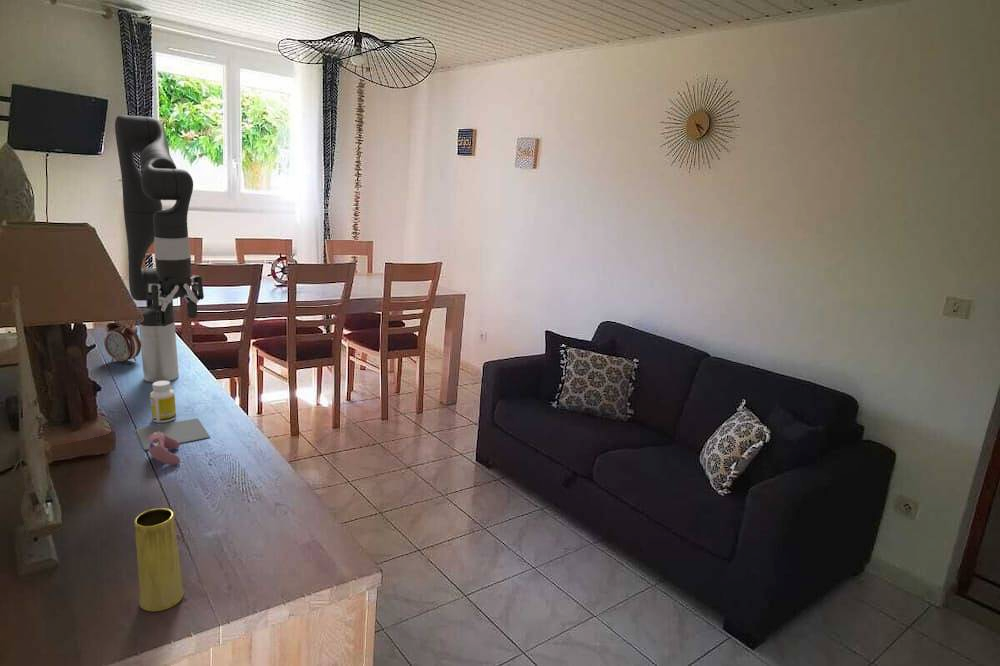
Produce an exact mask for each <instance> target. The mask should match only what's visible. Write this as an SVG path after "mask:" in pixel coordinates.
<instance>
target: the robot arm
mask: <svg viewBox="0 0 1000 666" xmlns="http://www.w3.org/2000/svg"><path fill="white" fill-rule="evenodd" d="M114 131H115V133H114V134H115V141H116V146H117V153H118V159H119V167H120V174H121V184H122V187H121V188H122V201H123V202H122V208H123V216H124V217H123V219H124V226H125V227H124V228H125V233H126V241H127V252H128V253H127V257H128V258H127V260H128V287H129V292H130V296H131V297H132V300H134V301H138V302H139V301H142V302H143V301H145V302H146V310H143V311H141V312H140V313H142V314H143V317H144V321H143V322H141V323H139V322H138V326H139V327H138V328H139V339H140V342H141V350H140V352H141V361H142V371H143V380H144V381H145V382H147V383H154V382H157V381H169V382H172V381H174V380H177V378H179V376H180V374H179V360H178V350H177V336H176V324H175V313H174V311H175V310H174V300H175V299H178V298H184V299H185V300H186V301H187V302H186V309H187V311H186V312H187V317H188V318H190V319H196V318H197V316H198V304H197V303H199V301H200V300H203V299H205V298H204V288H203V287H204V286H203V280H202V279H203V278H202V276H201V275H195V274H192V273H193V272H192V256H191V246H190V245H191V244H190V241H189V230H188V214H189V206H190V202H191V198H192V194H193V191H194V190H193V189H194V180H193V178H192V175H191V174H190V173H189V172H188V171H187V170H185V169H183V168H177V166H176V163H175V162H174V160H173V158H172V157H171V154H170V148H169V144H168V139H167V135H166V131H165V127H164V125H163V123H162V122H161V121H160V120H159V119H158V118H156V117H152V116H143V115H142V116H141V115H140V116H139V115H128V114H126V115H125V114H119V115H118V116H116V118H115V122H114ZM133 154H139V164H140V167H141V169H142V172H141V171H140V169H139V168H138V166H137V164H136V162H135V160H134V158H133V157H134V156H133ZM162 201H175V203H174V204H173V206H172V207H170V208H166V209H163V204H162ZM152 245H153V250H154V252H153V253H154V262H155V267H147V268H146V267H143V268H142V266H143V262H144V259H145V257H146V254H147V253H148V250H149V249H150V247H151V246H152ZM190 287H191V288H190Z"/></svg>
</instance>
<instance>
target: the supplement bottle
mask: <svg viewBox="0 0 1000 666" xmlns="http://www.w3.org/2000/svg"><path fill="white" fill-rule="evenodd" d="M149 395H150V396H149V398H150V407H151V419H152V421H153V422H155V423H160V424H166V423H171V422H173V421H174V420H175V419H176V418H177V412H176V397H175V392H174V390H173V389H171V381H157V382H152V391H151V392H150V394H149Z"/></svg>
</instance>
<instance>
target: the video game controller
mask: <svg viewBox="0 0 1000 666" xmlns="http://www.w3.org/2000/svg"><path fill="white" fill-rule="evenodd" d="M149 444H150V446H149V447H148V449H149V450H148V451H149V453H150V455H151V456H152V458H153V459H154V460H157V461H158V462H160V463H163V464H165V465H169V466H177V465H179V464H180V463H181V462H180V461H181V458H180V457H179V456H178V455H176V454H175V453H172V452H170V451H168V450H177V449H179V447H180V444H179V443H178V442H177V441H176V440H175V439H173V438H170V437H168V436H166V435H165V434H164V433H162V432H159V431H158V433H153V434H152V435H150V436H149ZM167 449H168V450H167Z"/></svg>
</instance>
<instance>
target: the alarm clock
mask: <svg viewBox="0 0 1000 666" xmlns="http://www.w3.org/2000/svg"><path fill="white" fill-rule="evenodd" d="M105 331H106V333H105V335H104V337H103V344H104V349H105V351H106V352H107V354H108V356H110V357H111V362H114V361H117V362H126V363H127V365H128V364H129V365H130V362H129V360H132V359H133V360H134V361H135V362H136V361H137V359H136V357H137V356H139V354H140V353H141V340H140V335H138V327H137V326H136V325H135V324H133V323H130V322H129V323H126V324H124V325H123V324H121V323H120V322H119V323H109V322H108V323H106V324H105Z"/></svg>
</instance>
